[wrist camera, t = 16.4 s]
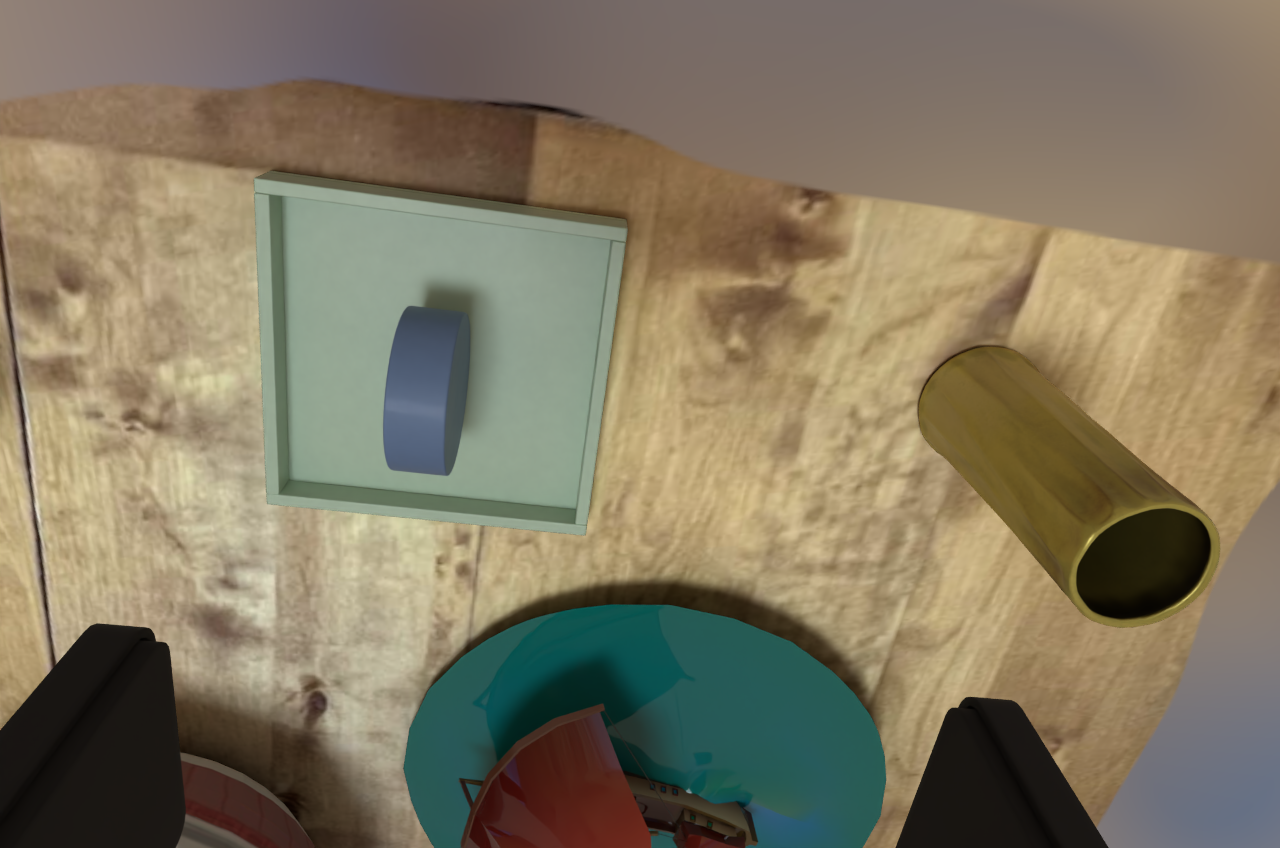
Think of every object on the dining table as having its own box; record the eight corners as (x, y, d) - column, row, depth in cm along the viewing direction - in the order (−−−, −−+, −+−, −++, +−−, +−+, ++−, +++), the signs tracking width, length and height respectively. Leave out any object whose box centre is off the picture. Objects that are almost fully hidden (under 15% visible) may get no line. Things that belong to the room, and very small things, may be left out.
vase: (893, 395, 42) (1025, 558, 29) (1004, 319, 41) (1194, 455, 28) (954, 480, 44) (1102, 668, 31) (1061, 411, 43) (1263, 577, 30)
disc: (420, 290, 39) (386, 327, 32) (474, 297, 39) (451, 335, 32) (413, 435, 41) (379, 497, 34) (464, 440, 41) (440, 504, 35)
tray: (270, 170, 36) (252, 177, 34) (626, 219, 38) (628, 228, 36) (280, 484, 43) (266, 504, 41) (586, 515, 44) (585, 536, 42)
